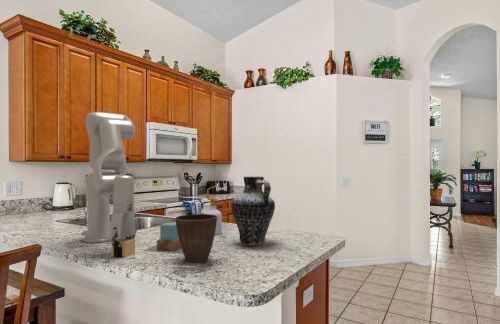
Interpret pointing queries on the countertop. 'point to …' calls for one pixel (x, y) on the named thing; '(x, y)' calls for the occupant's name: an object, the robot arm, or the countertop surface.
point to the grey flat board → (162, 251)
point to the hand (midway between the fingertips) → (123, 254)
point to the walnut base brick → (168, 245)
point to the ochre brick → (126, 247)
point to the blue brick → (168, 231)
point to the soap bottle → (215, 213)
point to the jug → (253, 211)
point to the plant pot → (196, 236)
